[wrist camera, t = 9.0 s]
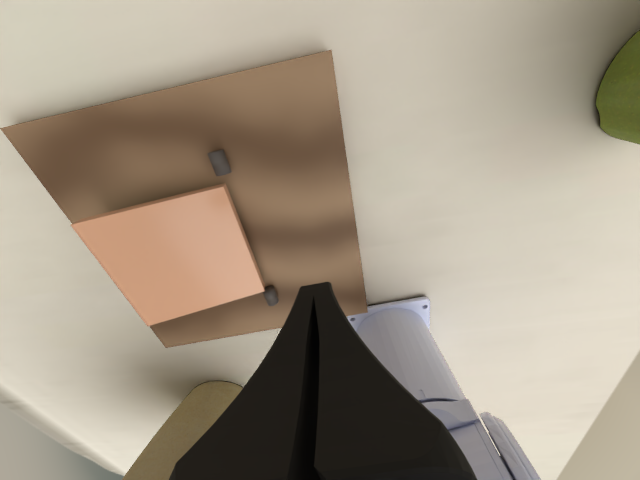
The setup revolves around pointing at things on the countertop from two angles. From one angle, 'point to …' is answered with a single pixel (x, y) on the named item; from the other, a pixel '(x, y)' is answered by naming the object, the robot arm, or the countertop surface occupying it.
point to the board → (221, 178)
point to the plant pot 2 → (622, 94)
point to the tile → (175, 253)
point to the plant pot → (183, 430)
